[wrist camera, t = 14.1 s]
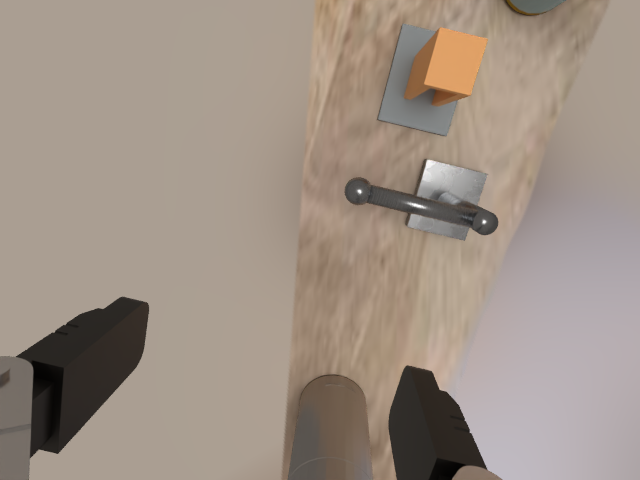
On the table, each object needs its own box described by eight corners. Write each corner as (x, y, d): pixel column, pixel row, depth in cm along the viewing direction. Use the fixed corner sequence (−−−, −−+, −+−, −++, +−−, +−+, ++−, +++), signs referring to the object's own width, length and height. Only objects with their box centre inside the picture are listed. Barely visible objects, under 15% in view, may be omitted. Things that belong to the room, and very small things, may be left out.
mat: (445, 136, 44) (446, 136, 44) (377, 119, 44) (378, 119, 44) (474, 42, 42) (475, 41, 41) (402, 25, 42) (403, 23, 41)
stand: (461, 237, 47) (510, 277, 33) (336, 207, 47) (333, 234, 33) (482, 173, 45) (545, 187, 31) (352, 141, 45) (357, 141, 31)
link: (450, 64, 42) (488, 38, 31) (438, 106, 43) (470, 95, 32) (414, 56, 42) (440, 27, 31) (403, 98, 43) (424, 84, 32)
